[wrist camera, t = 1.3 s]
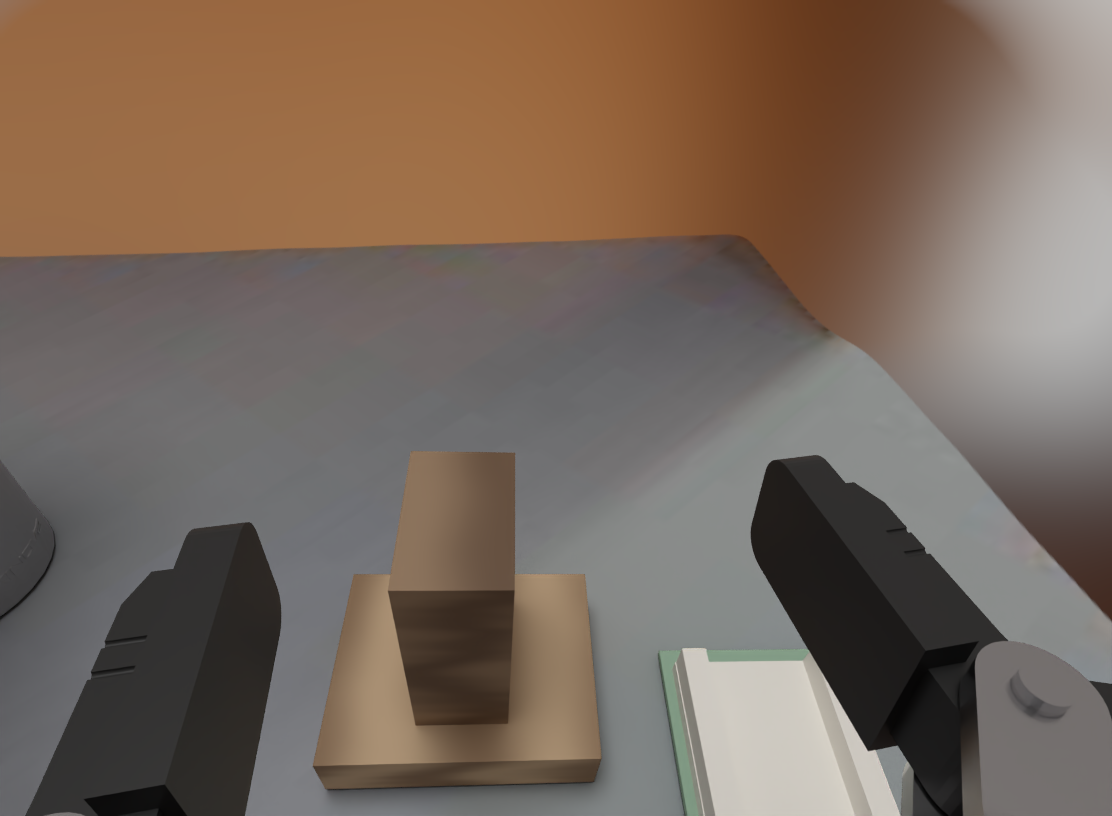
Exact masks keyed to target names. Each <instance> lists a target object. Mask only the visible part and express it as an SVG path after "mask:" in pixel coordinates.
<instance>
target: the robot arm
mask: <svg viewBox="0 0 1112 816" xmlns="http://www.w3.org/2000/svg"><path fill="white" fill-rule="evenodd" d="M906 528H907V527H906V526H905V525H904V524H903V523H902V522H901V520H900V519H899V518H898V517H897V516H896V515H895V514H894V513H893V511H892V510H891V509H890V508H889V507H888V506H887V505H886V504H885V502H883V501H881V500H880V499H878V498H877V497H875V496H874V495H872V494H871V493H869V492H868V491H866V490H865V489H863V488H862V487H860V486H859V485H857V484H856V483H854V482H852V483H845V482H844V481H843V480H842V478H841V477H840V476H839V475H838V474H837V473H836V471H835V470H834V469H833V468H832V467H831V465H830V464H829V463H828V462H827V461H826V460H825V459H824V458H822V457H821V456H818V455H813V456H805V457H796V458H788V459H780V460H773V461H772V462H770V463H769V464H768V466H767V469H766V472H765V475H764V479H763V483H762V487H761V491H760V495H759V498H758V502H757V506H756V510H755V514H754V518H753V521H752V526H751V543H752V548H753V552H754V555H755V558H756V560H757V562H758V564H759V566H760V568H761V570H762V571H763V573H764V575H765V576H766V578H767V580H768V582H769V583H770V585H771V587H772V588H773V590H774V592H775V593H776V595H777V597H778V599H779V600H780V602H781V604H782V605H783V607H784V609H785V611H786V612H787V614H788V616H789V617H790V619H791V621H792V622H793V624H794V626H795V628H796V629H797V631H798V633H799V634H800V636H801V638H802V640H803V641H804V643H805V645H806V646H807V648H808V650H809V651H810V653H811V655H812V657H813V658H814V660H815V662H816V663H817V665H818V667H819V669H820V670H821V672H822V674H823V675H824V677H825V679H826V681H827V682H828V684H829V686H830V687H831V689H832V691H833V692H834V694H835V696H836V698H837V699H838V701H839V703H840V704H841V706H842V708H843V710H844V711H845V713H846V715H847V716H848V718H849V720H850V721H851V723H852V725H853V727H854V728H855V730H856V732H857V733H858V735H859V737H860V739H861V740H862V742H863V744H864V745H865V747H866V749H867V750H868V751H873V750H878V749H883V748H887V747H892V746H897V745H898V747H899V748H900V750H901V751H902V753H903V755H904V756H905V758H906V759H907V761H908V762H907V763H906V765H905V768H904V770H903V777H902V798H901V816H1112V684H1108V683H1101V682H1094V681H1088V680H1087V679H1086V678H1085V677H1084V676H1083V675H1082V674H1081V673H1080V672H1079V671H1077V670H1076V669H1075V668H1073V667H1072V666H1071V665H1069V664H1068V663H1067V662H1065V661H1063V660H1062V659H1060V658H1059V657H1057V656H1055V655H1053V654H1051V653H1049V652H1047V651H1045V650H1043V649H1040V648H1038V647H1035V646H1032V645H1028V644H1025V643H1020V642H1014V641H1008V640H1007V639H1006V638H1005V637H1004V636H1003V635H1002V634H1001V633H1000V632H999V631H998V630H997V628H996V627H995V626H994V625H993V624H992V623H991V622H990V621H989V619H988V618H987V617H986V616H985V615H984V614H983V613H982V612H981V610H980V609H979V608H978V607H977V606H976V605H975V604H974V603H973V601H972V600H971V599H970V598H969V597H968V596H967V595H966V594H965V592H964V591H963V590H962V589H961V588H960V587H959V586H958V585H957V583H956V582H955V581H954V580H953V579H952V578H951V577H950V576H949V574H948V573H947V572H946V571H945V570H944V569H943V568H942V567H941V565H940V564H939V563H938V562H937V561H936V560H935V559H934V558H933V556H932V555H931V554H926V552H925V547H924V546H923V545H922V544H921V543H920V542H919V541H918V540H917V538H916V537H915V536H914V535H913V534H912V533H908V532H907V529H906ZM53 549H54V534H53V530H52V528H51V526H50V524H49V523H48V521H47V520H46V518H45V517H44V516H43V515H42V513H41V512H40V511H39V509H38V508H37V507H36V506H35V504H34V503H33V502H32V501H31V499H30V498H29V497H28V495H27V494H26V493H25V492H24V490H23V489H22V488H21V487H20V485H19V484H18V483H17V481H16V480H15V478H14V477H13V476H12V474H11V473H10V472H9V471H8V469H7V468H6V467H5V466H4V464H3V463H2V462H1V461H0V616H1V615H3V614H4V613H5V612H7V611H8V610H9V609H11V608H12V607H13V606H15V605H16V604H17V603H18V602H19V601H20V600H21V599H22V598H23V597H24V596H25V595H26V594H27V593H28V592H29V591H30V590H31V589H32V588H33V587H34V586H35V584H36V583H37V582H38V580H39V579H40V578H41V576H42V575H43V574H44V572H45V570H46V568H47V566H48V564H49V562H50V560H51V558H52V553H53ZM280 629H281V603H280V596H279V592H278V589H277V586H276V583H275V580H274V578H273V575H272V572H271V570H270V567H269V564H268V561H267V559H266V556H265V553H264V551H263V548H262V545H261V542H260V540H259V537H258V534H257V532H256V529H255V528H254V526H253V525H252V524H251V523H249V522H246V523H238V524H230V525H221V526H213V527H205V528H197V529H193V530H191V531H190V532H189V533H188V535H187V536H186V538H185V541H184V543H183V546H182V548H181V551H180V553H179V556H178V558H177V561H176V564H175V566H174V569H169V570H162V571H154V572H151V573H150V574H149V575H148V576H147V577H146V579H145V580H144V581H143V582H142V583H141V584H140V585H139V586H138V587H137V588H136V589H135V590H134V592H133V593H132V594H131V595H130V596H129V597H128V598H127V599H126V600H125V601H124V602H123V604H122V605H121V607H120V609H119V611H118V613H117V615H116V618H115V620H114V622H113V624H112V627H111V629H110V631H109V633H108V635H107V638H106V640H105V644H106V645H105V648H103V649H101V651H100V653H99V655H98V658H97V660H96V662H95V664H94V666H93V669H92V671H91V674H92V677H91V680H87V682H86V684H85V686H84V689H83V691H82V693H81V695H80V697H79V700H78V702H77V704H76V706H75V709H74V711H73V713H72V715H71V717H70V720H69V722H68V724H67V726H66V728H65V731H64V733H63V735H62V737H61V740H60V742H59V744H58V746H57V748H56V751H55V753H54V755H53V757H52V760H51V762H50V764H49V766H48V768H47V771H46V773H45V775H44V777H43V779H42V782H41V784H40V786H39V788H38V791H37V793H36V795H35V797H34V799H33V802H32V804H31V805H30V807H29V809H28V811H27V813H26V815H25V816H245V811H246V806H247V801H248V796H249V791H250V786H251V780H252V775H253V770H254V765H255V760H256V755H257V749H258V744H259V739H260V734H261V729H262V724H263V718H264V713H265V708H266V703H267V698H268V693H269V687H270V682H271V677H272V672H273V667H274V662H275V656H276V651H277V646H278V641H279V636H280Z"/></svg>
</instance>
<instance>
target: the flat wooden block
mask: <svg viewBox="0 0 1112 816" xmlns="http://www.w3.org/2000/svg"><path fill="white" fill-rule="evenodd" d="M389 580H390V574H354V576H353V580H352V585H351V590H350V594H349V599H348V604H347V608H346V613H345V618H344V622H343V627H342V632H341V636H340V641H339V646H338V650H337V655H336V660H335V664H334V669H333V674H332V679H331V683H330V688H329V693H328V697H327V702H326V707H325V711H324V716H323V721H322V725H321V730H320V735H319V739H318V744H317V749H316V753H315V758H314V763H313V767H314V769H315V771H316V773H317V774H318V776H319V778H320V780H321V782H322V783H323V785H324V787H325V789H350V788H386V787H421V786H457V785H493V784H528V783H564V782H594V779H595V776H596V773H597V771H598V768H599V765H600V762H601V759H602V758H601V747H600V736H599V725H598V714H597V703H596V692H595V681H594V670H593V659H592V647H591V636H590V625H589V614H588V603H587V592H586V581H585V574H515V595H514V615H513V635H512V655H511V674H510V694H509V714H508V724H474V725H425V726H416V725H415V720H414V715H413V711H412V706H411V701H410V696H409V691H408V686H407V682H406V677H405V672H404V667H403V662H402V657H401V652H400V648H399V643H398V638H397V633H396V628H395V623H394V619H393V614H392V609H391V604H390V599H389V594H388V586H389Z"/></svg>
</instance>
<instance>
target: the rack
mask: <svg viewBox="0 0 1112 816" xmlns="http://www.w3.org/2000/svg"><path fill="white" fill-rule="evenodd" d="M672 672H673V678H674V683H675V689H676V694H677V700H678V705H679V711H680V716H681V722H682V727H683V733H684V738H685V744H686V749H687V755H688V760H689V766H690V771H691V777H692V782H693V788H694V793H695V798H696V804H697V809H698V815H699V816H900V813H899V811H898V808H897V805H896V803H895V800H894V798H893V795H892V792H891V790H890V787H889V785H888V782H887V779H886V777H885V774H884V772H883V769H882V766H881V764H880V761H879V759H878V756H877V753H876V751H875V750H873V751H868V750H867V749H866V747H865V745H864V744H863V742H862V740H861V739H860V737H859V735H858V733H857V732H856V730H855V728H854V727H853V725H852V723H851V721H850V720H849V718H848V716H847V715H846V713H845V711H844V710H843V708H842V706H841V704H840V703H839V701H838V699H837V698H836V696H835V694H834V692H833V691H832V689H831V687H830V686H829V684H828V682H827V681H826V679H825V677H824V675H823V674H822V672H821V670H820V669H819V667H818V665H817V663H816V662H815V660H814V658H813V657H812V655H811V653H810V651H809V653H808V654H807V655H806V657H805V658H804V659H803V661H737V662H709V660H708V656H707V651H706V648H682V650H681V652H680V654H679V657H678V659H677V661H676V662H675V663H674V666H673V668H672Z"/></svg>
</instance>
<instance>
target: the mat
mask: <svg viewBox="0 0 1112 816" xmlns="http://www.w3.org/2000/svg"><path fill="white" fill-rule="evenodd" d="M706 651H707V656H708V660H709V662H737V661H803V659H804V658H805V657H806V655H807V654H808V653H809V650H808V649H780V650H706ZM680 652H681V651H659V653H658V658H659V664H660V670H661V675H662V681H663V687H664V693H665V699H666V705H667V711H668V717H669V723H670V729H671V735H672V741H673V747H674V752H675V758H676V764H677V770H678V776H679V782H680V788H681V794H682V800H683V806H684V812H685V816H699V815H698V809H697V804H696V798H695V793H694V788H693V782H692V777H691V771H690V766H689V760H688V755H687V749H686V744H685V738H684V733H683V727H682V722H681V716H680V711H679V705H678V700H677V694H676V689H675V683H674V678H673V672H672V668H673V666H674V663H675V662H676V661H677V659H678V657H679V654H680Z"/></svg>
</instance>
